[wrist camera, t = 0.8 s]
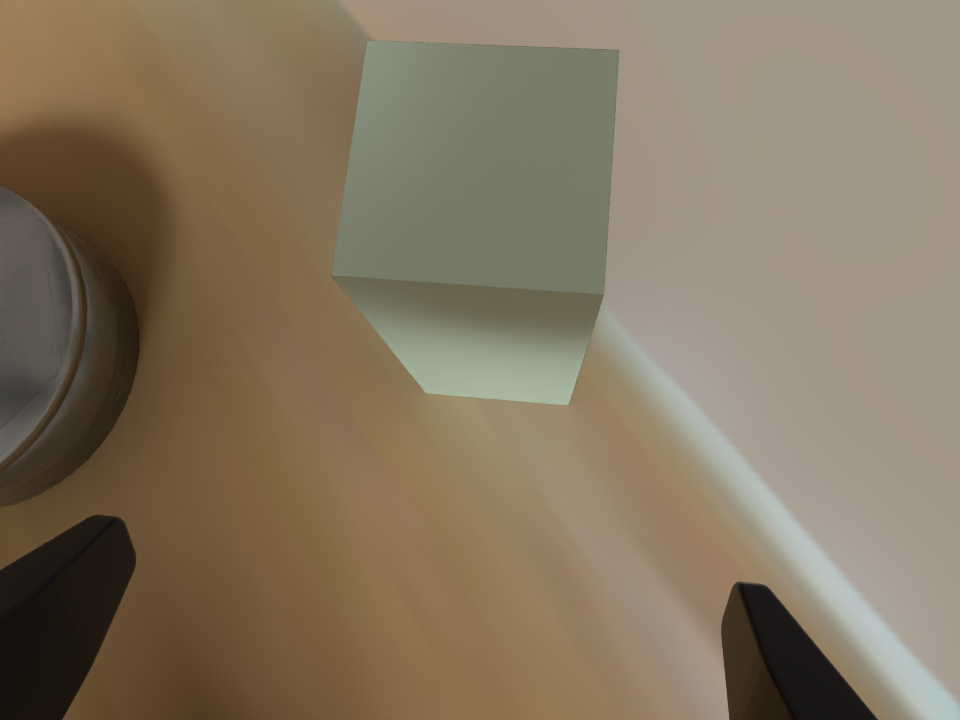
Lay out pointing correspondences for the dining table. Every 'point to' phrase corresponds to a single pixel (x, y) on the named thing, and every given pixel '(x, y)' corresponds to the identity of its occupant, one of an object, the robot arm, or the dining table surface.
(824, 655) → the robot arm
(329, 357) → the dining table surface
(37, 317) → the charcoal tin
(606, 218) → the sage block
